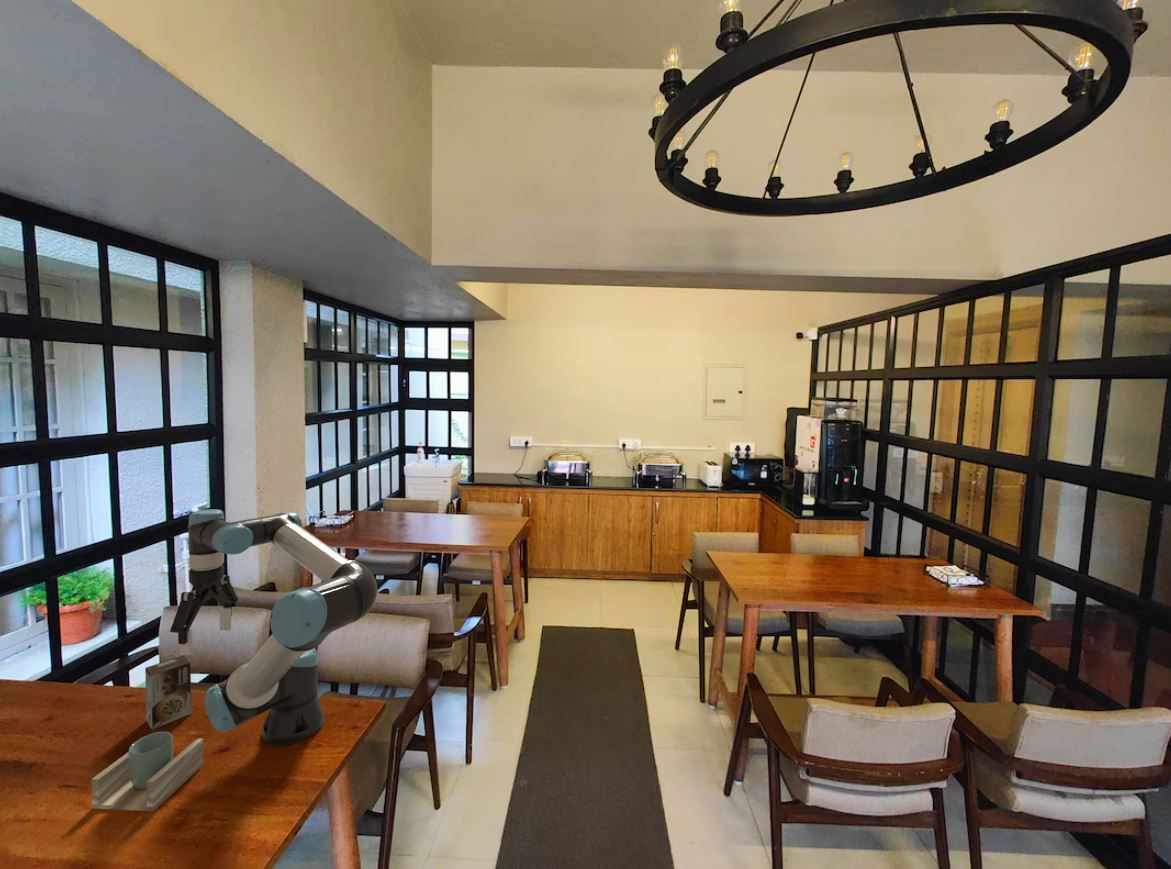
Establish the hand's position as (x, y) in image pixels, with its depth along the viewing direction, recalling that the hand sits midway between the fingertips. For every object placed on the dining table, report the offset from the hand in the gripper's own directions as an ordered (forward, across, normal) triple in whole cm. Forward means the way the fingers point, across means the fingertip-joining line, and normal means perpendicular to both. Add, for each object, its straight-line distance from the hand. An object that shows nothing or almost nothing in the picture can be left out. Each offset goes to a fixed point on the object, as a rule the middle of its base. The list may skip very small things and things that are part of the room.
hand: (206, 641), depth 131 cm
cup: (+26, +18, +1) cm, 32 cm away
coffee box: (+27, -6, -16) cm, 32 cm away
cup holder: (+27, +18, +1) cm, 32 cm away
